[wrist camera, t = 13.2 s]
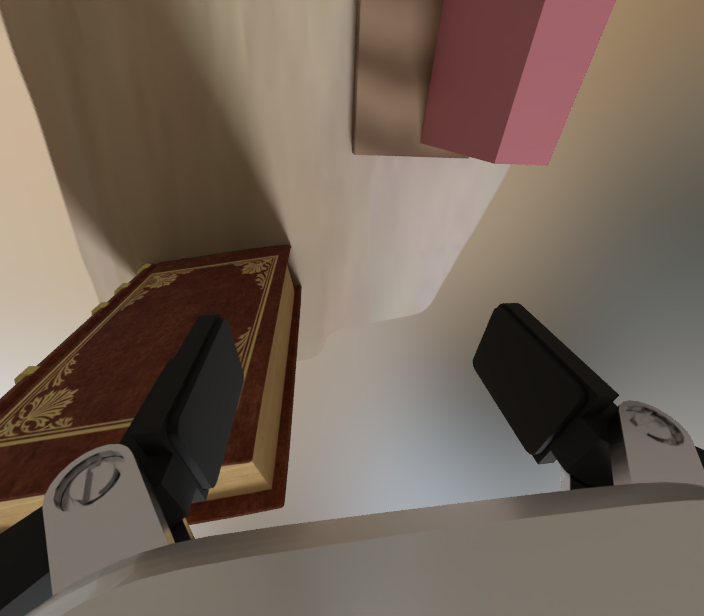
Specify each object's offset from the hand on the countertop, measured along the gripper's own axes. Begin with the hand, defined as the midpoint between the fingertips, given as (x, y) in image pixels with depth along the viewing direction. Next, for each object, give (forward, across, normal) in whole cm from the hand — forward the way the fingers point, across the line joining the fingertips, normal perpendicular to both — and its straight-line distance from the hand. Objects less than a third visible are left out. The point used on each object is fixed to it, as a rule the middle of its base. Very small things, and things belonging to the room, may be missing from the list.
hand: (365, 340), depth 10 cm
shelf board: (+30, -10, -11) cm, 34 cm away
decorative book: (+31, +16, +14) cm, 37 cm away
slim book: (+28, -13, -10) cm, 33 cm away
